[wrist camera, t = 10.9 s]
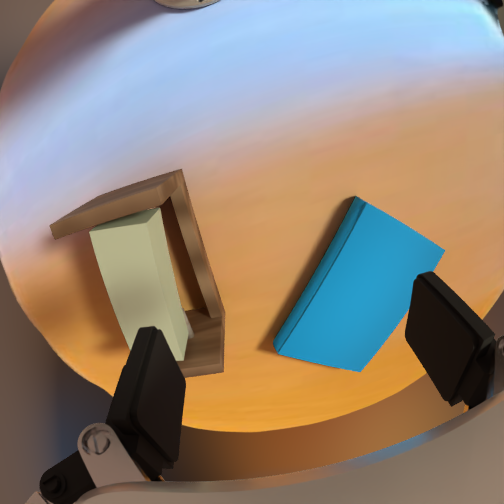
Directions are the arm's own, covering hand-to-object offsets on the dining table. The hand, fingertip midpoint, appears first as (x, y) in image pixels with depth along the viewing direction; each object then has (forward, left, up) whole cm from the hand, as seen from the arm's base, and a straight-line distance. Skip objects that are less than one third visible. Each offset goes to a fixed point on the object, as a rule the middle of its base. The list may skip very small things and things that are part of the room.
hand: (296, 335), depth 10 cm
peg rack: (+6, -14, -27) cm, 31 cm away
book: (+19, +12, -28) cm, 36 cm away
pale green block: (+6, -14, -21) cm, 25 cm away
